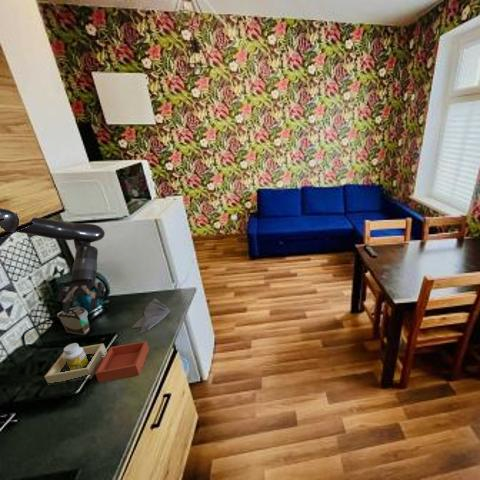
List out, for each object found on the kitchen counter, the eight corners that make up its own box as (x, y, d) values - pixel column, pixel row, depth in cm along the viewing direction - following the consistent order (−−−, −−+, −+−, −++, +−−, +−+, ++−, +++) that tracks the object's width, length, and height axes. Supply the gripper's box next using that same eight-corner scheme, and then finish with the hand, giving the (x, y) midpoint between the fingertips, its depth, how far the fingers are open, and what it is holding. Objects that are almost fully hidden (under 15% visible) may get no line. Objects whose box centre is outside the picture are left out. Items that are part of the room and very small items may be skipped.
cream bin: (49, 386, 93) (44, 376, 91) (69, 359, 104) (65, 349, 102) (92, 378, 96) (87, 368, 94) (107, 352, 107) (103, 343, 106)
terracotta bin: (99, 383, 95) (94, 373, 93) (113, 356, 106) (110, 347, 104) (139, 375, 98) (136, 365, 96) (149, 349, 109) (146, 340, 107)
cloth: (160, 330, 119) (159, 326, 118) (126, 334, 117) (125, 330, 116) (177, 297, 143) (176, 293, 142) (149, 300, 140) (148, 296, 139)
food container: (100, 326, 122) (93, 308, 118) (87, 335, 116) (80, 317, 112) (78, 322, 124) (70, 304, 120) (64, 331, 118) (56, 313, 114)
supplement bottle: (92, 360, 103) (84, 341, 99) (81, 372, 98) (72, 352, 94) (78, 360, 102) (69, 341, 99) (66, 372, 98) (56, 352, 94)
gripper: (57, 270, 103) (50, 312, 98) (100, 266, 107) (95, 306, 101) (69, 275, 110) (63, 315, 105) (109, 271, 114) (106, 309, 108)
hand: (79, 310), depth 103 cm, fingers open, 8 cm apart
